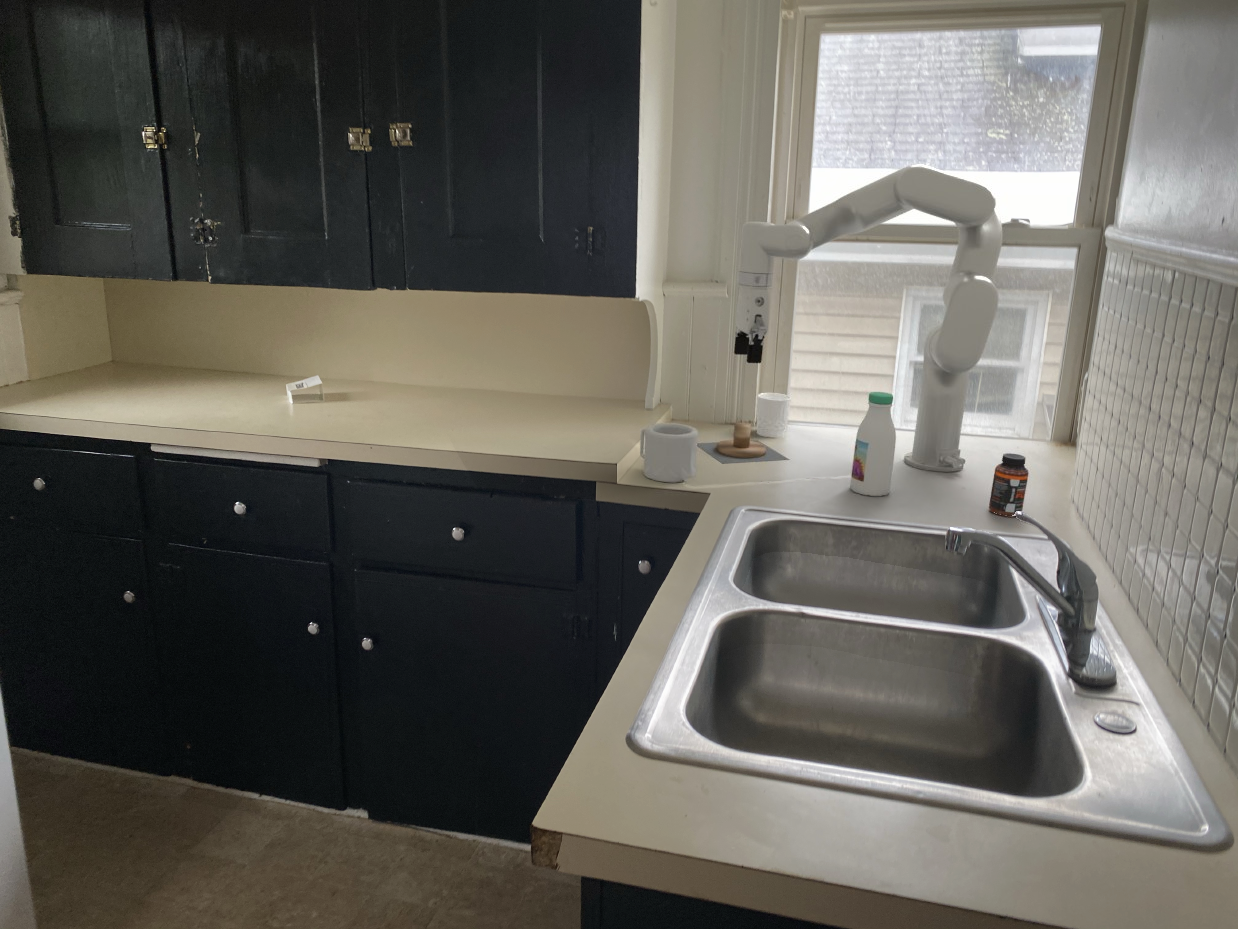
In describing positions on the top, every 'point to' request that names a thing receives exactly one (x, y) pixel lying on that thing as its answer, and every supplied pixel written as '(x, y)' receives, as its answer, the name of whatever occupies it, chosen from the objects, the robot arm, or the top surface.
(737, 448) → the wooden lid
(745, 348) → the robot arm
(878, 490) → the milk bottle
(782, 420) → the white cup
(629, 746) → the top surface
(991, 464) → the top surface
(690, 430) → the mug
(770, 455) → the mat
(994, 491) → the supplement bottle
